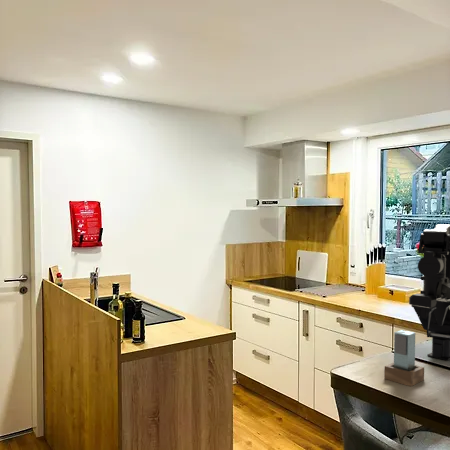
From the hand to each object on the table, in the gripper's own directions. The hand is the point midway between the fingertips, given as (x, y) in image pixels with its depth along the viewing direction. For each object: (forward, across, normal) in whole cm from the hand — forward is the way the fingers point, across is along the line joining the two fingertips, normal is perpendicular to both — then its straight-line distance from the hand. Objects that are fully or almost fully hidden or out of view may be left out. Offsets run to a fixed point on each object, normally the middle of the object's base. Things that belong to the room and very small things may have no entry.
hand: (433, 327), depth 134 cm
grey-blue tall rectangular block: (+13, -12, +2) cm, 18 cm away
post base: (+13, -12, +2) cm, 18 cm away
